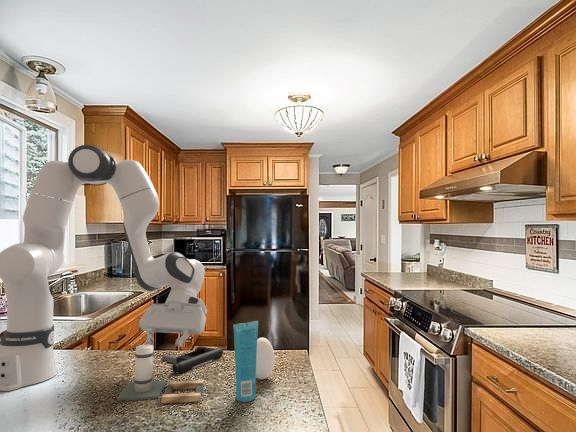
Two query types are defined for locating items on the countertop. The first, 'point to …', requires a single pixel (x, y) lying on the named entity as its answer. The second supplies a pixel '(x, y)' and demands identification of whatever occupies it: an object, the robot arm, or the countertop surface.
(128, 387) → the mat
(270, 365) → the egg
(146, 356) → the white cylinder
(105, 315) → the countertop surface
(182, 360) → the door handle
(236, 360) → the tube
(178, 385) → the cradle
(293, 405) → the countertop surface
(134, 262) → the robot arm
